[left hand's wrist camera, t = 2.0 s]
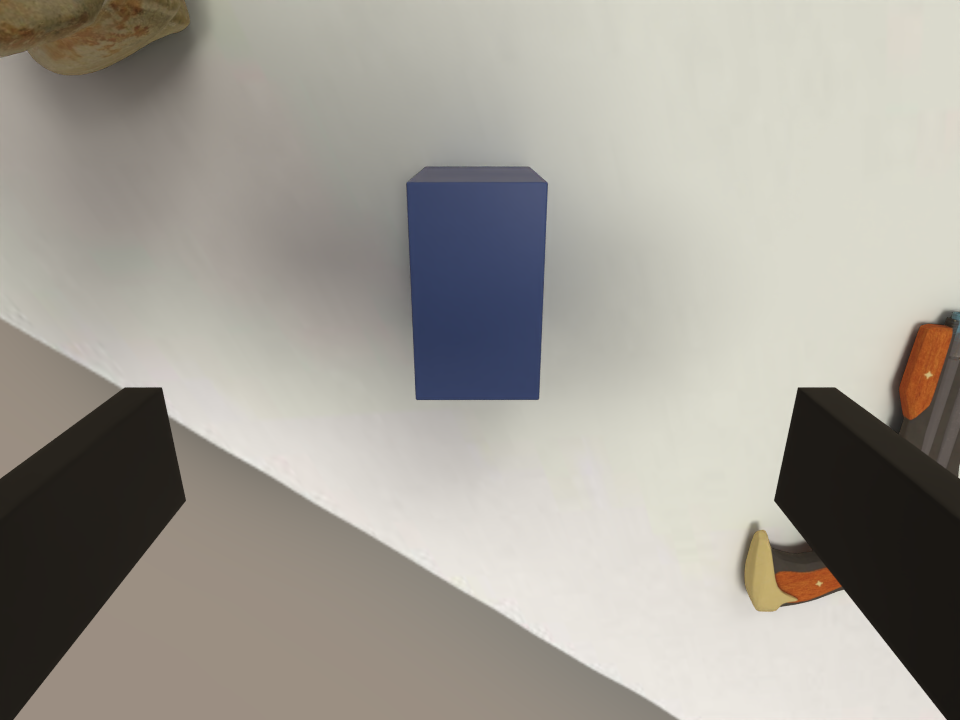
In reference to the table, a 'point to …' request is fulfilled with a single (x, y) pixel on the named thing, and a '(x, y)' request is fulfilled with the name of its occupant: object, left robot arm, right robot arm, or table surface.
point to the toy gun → (927, 425)
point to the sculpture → (86, 30)
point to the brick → (477, 281)
